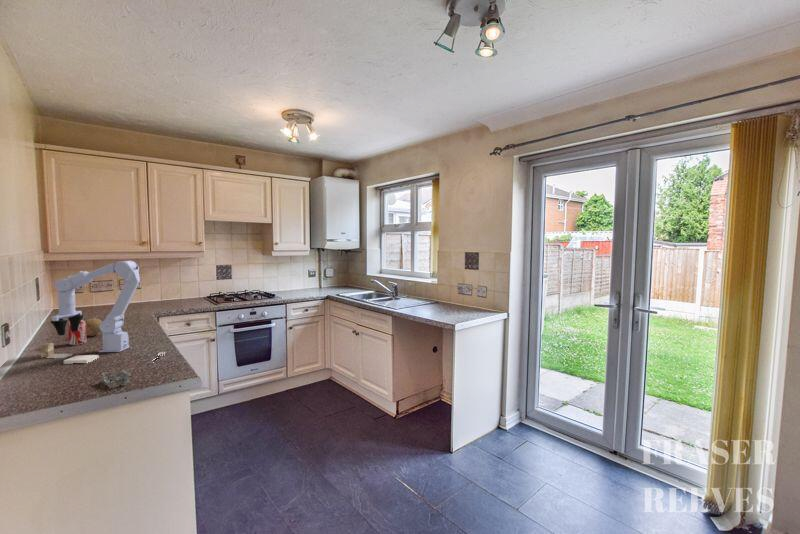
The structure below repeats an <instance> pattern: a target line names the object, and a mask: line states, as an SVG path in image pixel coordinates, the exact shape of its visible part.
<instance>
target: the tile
mask: <svg viewBox="0 0 800 534" xmlns="http://www.w3.org/2000/svg"><path fill="white" fill-rule="evenodd" d="M97 358H98V359H100V357H99V354H85V355H84V354H82V355H79V354H78V355H77V354H76V355H73V356H71V357H69V358H67V359H66V358H65V359H63V365H74V364H73V363H87V364H89V363H92V362H94V361H96V360H98V359H97ZM95 359H96V360H95ZM93 360H94V361H93ZM88 362H89V363H88Z"/></svg>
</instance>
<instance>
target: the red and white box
mask: <svg viewBox="0 0 800 534" xmlns="http://www.w3.org/2000/svg"><path fill="white" fill-rule="evenodd" d="M68 322H69V323H68V324H67V341H68V344H69V345H71V346H80V345H79V344H81V345H84V344H85V343H86V342H87V338H88V337H87V336H88V335H87V332H86V323H85V319H82V320H81V322H80V324H79V327H78V331H72V330H71V325H70V321H69V320H68ZM83 343H84V344H83Z"/></svg>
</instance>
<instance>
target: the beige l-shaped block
mask: <svg viewBox="0 0 800 534" xmlns="http://www.w3.org/2000/svg"><path fill="white" fill-rule="evenodd" d="M39 347H40V348H39V349H40V358H41V359H44V358H43V357H46V358H54V359H66V358H67V357H70V356H71V357H72V356H74V355H73V354H74V353H55V345H54V342H45V343H42V344H40V345H39ZM46 358H45V359H46Z"/></svg>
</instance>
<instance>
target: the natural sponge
mask: <svg viewBox="0 0 800 534" xmlns="http://www.w3.org/2000/svg"><path fill="white" fill-rule="evenodd" d="M84 322H85V323H86V332H87V336H89V337H95V336H97V335H98V334H99V333H102V331H101V330H100V328H99V326H100V323H101V322H103V320H101V319H99V318H96V317H92V318H88V319H87V320H84Z"/></svg>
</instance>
